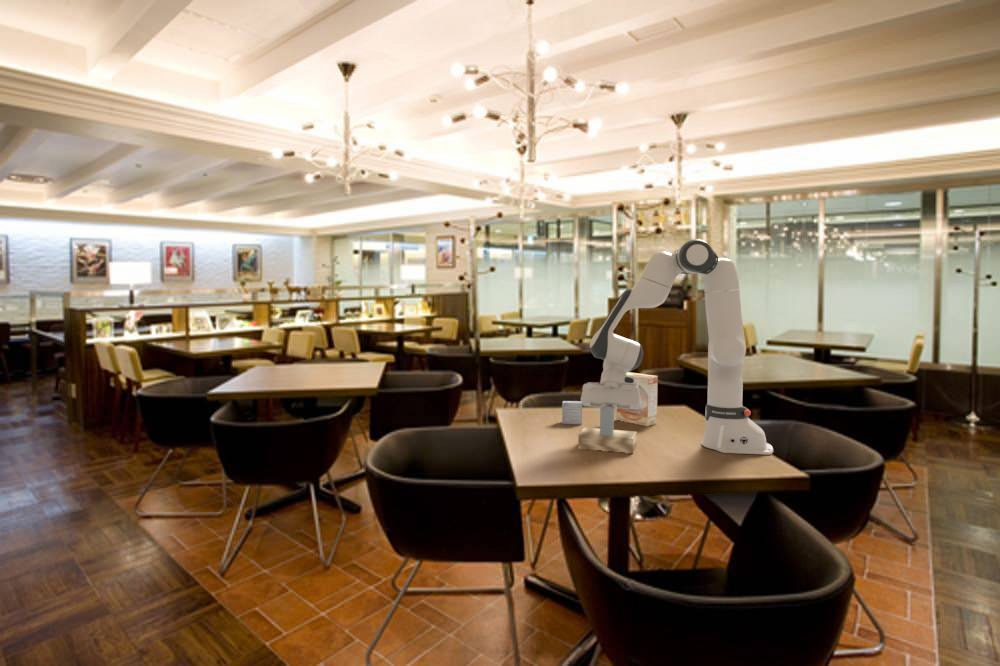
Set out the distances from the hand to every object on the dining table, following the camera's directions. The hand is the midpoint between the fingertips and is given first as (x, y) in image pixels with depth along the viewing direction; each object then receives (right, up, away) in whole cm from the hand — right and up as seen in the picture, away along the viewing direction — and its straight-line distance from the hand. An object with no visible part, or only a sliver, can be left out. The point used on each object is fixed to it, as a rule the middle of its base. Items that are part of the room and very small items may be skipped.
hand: (608, 416), depth 195 cm
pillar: (-1, -6, -2) cm, 6 cm away
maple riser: (0, -10, 0) cm, 10 cm away
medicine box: (-8, -8, +36) cm, 38 cm away
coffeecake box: (+19, -8, +38) cm, 43 cm away
